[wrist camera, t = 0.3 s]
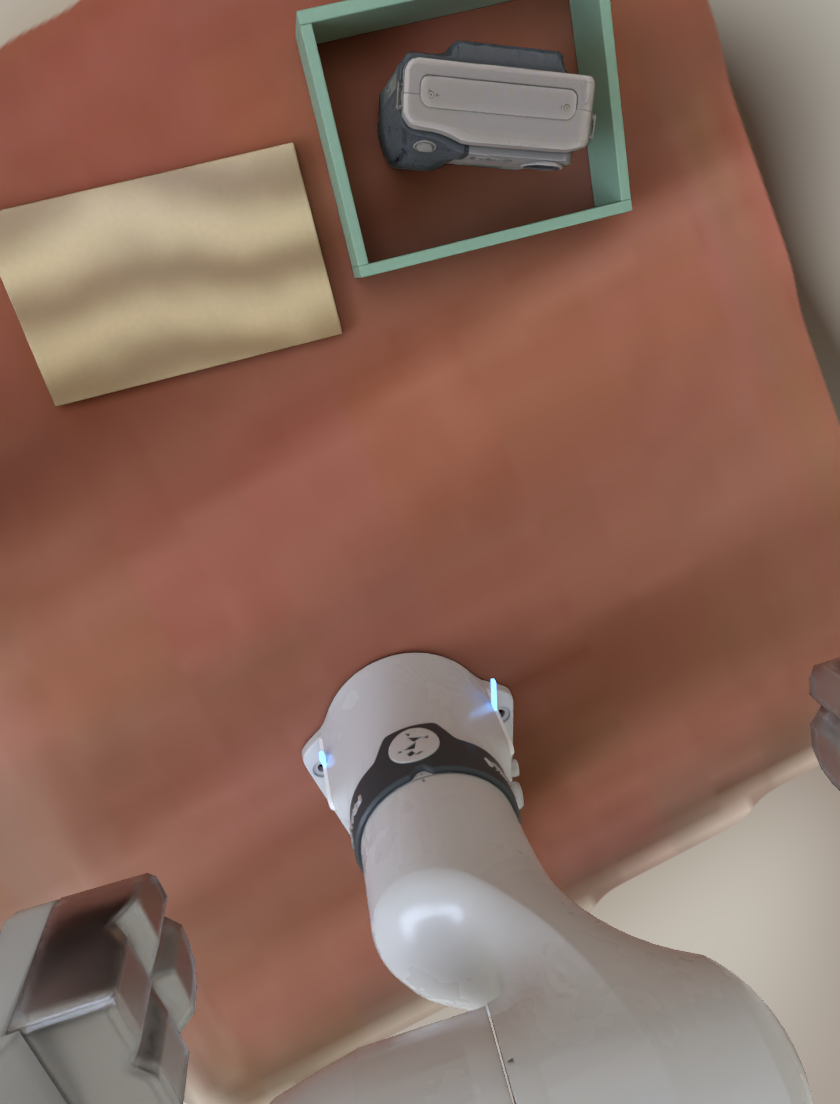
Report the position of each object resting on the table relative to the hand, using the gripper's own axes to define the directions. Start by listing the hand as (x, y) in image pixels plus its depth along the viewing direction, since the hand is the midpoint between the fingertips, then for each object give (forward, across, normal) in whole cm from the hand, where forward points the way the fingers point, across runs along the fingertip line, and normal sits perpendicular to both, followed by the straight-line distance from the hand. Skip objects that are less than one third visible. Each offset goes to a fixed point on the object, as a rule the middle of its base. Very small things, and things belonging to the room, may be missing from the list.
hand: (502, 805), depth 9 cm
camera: (+47, +13, +12) cm, 51 cm away
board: (+47, -8, +8) cm, 48 cm away
